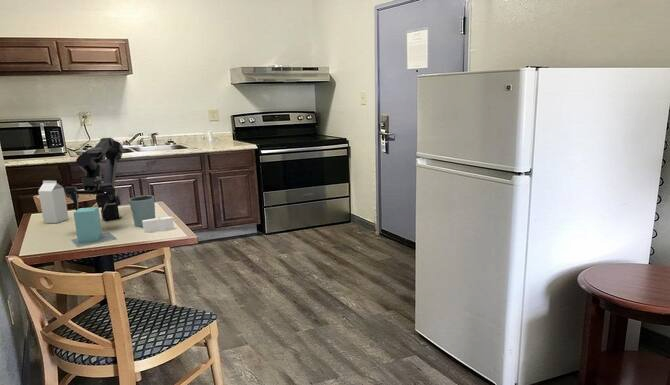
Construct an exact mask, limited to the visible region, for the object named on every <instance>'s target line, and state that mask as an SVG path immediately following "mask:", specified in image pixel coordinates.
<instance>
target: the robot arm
mask: <svg viewBox="0 0 670 385" xmlns="http://www.w3.org/2000/svg"><path fill="white" fill-rule="evenodd" d="M123 153H124V146H123V145H122V143H120V141H118V140H115V139H114V138H113V137H102V138H100V140H99V142H98V143H97V144H96V145H95V146H94V147H92V148H88V149H86V150H85V151H82V153H81V154H80V155H78V157H77V158H76V161H75V162H76V164H77V166H79V168H80V169H82V172H85V174H84V177H82V178H81V181H82V183H81V184H82V185H81V186H82V189H78V188H77V186H66V187H65V188H64V193H65V198H68V199H69V200H72V202H73V205H74V208H75V211H76V210H78V209H79V197H78V196H79V195H91V196H92V195H93V196H94V195H95V201H96V204H97V207H98V208H101V209H100V214H101V220H104V221H105V222H107V221H113V220H118V219H119V220H120V219H121V218H122V217H121V216H120V211H119V206H122V202H121V201H122V200H121V198H120V196H119V194H118V192H117V189H116V187H115V182H116V175H117V166H118V162H119V161H120V160H121V159H122V156H123ZM104 162H105V167H104V173H103V174H104V175H103V178H102V176H101V174H102V171H103V168H102V167H101V165H100V164H102V163H104ZM102 179H103V180H102ZM102 181H103V182H102Z"/></svg>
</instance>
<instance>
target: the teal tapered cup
mask: <svg viewBox="0 0 670 385" xmlns="http://www.w3.org/2000/svg"><path fill="white" fill-rule="evenodd" d="M155 201H156V200H155V196H154V195H146V194H145V195H139V196H134V197H131V198H129V199H128V202H129V206H130V210H131V214H132V218H133V223H134V226H135V227H137V228H138V227H139V228H143V223H142V220H148V219H155V218H156V208H155V207H156V205H155Z"/></svg>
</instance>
